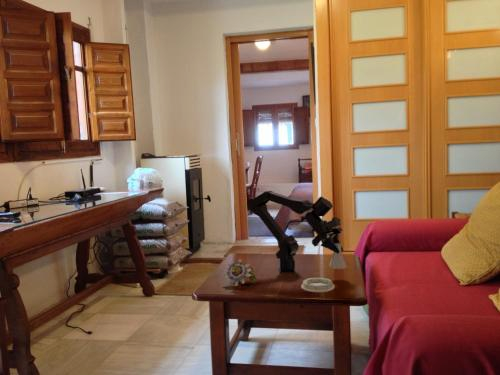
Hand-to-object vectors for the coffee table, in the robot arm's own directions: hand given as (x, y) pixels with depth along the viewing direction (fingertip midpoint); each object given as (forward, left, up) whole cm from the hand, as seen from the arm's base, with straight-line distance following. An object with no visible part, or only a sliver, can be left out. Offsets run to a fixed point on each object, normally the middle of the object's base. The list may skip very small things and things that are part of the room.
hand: (340, 251), depth 179 cm
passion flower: (-42, +3, -12) cm, 44 cm away
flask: (-1, +1, -7) cm, 7 cm away
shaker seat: (-12, -8, -12) cm, 19 cm away
